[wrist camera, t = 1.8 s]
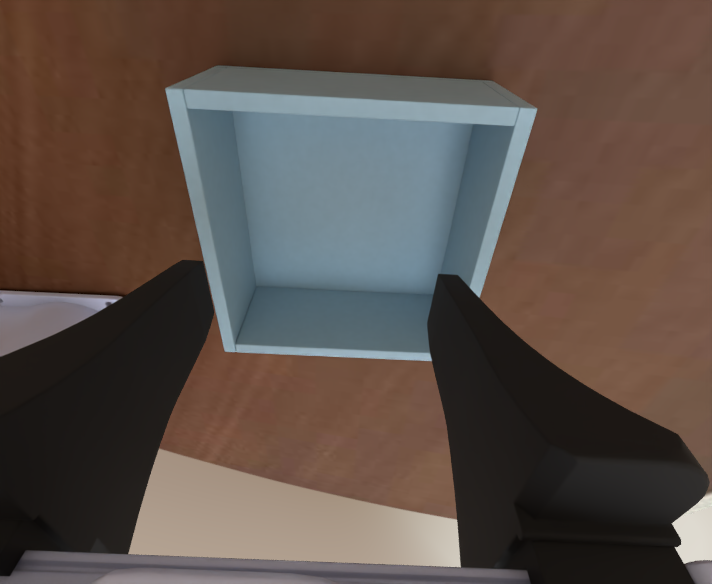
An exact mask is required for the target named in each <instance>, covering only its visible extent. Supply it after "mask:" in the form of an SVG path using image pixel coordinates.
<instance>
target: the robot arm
mask: <svg viewBox="0 0 712 584" xmlns="http://www.w3.org/2000/svg"><path fill="white" fill-rule="evenodd" d="M110 302H111V303H112V304H111V303H110ZM213 315H214V309H213V304H212V300H211V295H210V291H209V286H208V282H207V277H206V273H205V268H204V264H203V261H193V260H182V261H180V262H178V263H176V264H175V265H173V266H171V267H170V268H168V269H167V270H165V271H164V272H162V273H160V274H159V275H157V276H156V277H154V278H153V279H151V280H150V281H148V282H147V283H145V284H143V285H142V286H140V287H139V288H137V289H136V290H134V291H133V292H131V293H129V294H128V295H126V296H124V297H121V296H109V295H88V294H67V293H45V292H24V291H3V290H0V584H712V561H710V560H709V561H708V560H703V561H694V562H689V563H686V564H684V563H683V562H682V560H681V558H680V556H679V555H678V553H677V551H676V549H675V547H678V546H679V545H681V539H680V537H679V536H678V534H677V532H676V530H675V529H674V527H673V525H672V524H671V523H673V522H674V521H675V520H676V519H678V518H679V517H680V516H682V515H683V514H684V513H685V512H687V511H688V510H689V509H690V508H692V507H693V506H694V505H696V504H697V503H698V502H699V501H700V500H701V499H702V498H703V497H704V496H705V494H706V491H707V489H708V486H709V479H708V475H707V474H706V472H705V471H704V469H703V468H702V467H701V465H700V464H699V463H698V461H697V460H696V458H695V457H694V456H693V454H692V453H691V452H690V450H689V449H688V447H687V446H686V445H685V443H684V442H683V440H682V439H681V438H680V437H679V435H678V434H676V433H674V432H672V431H670V430H668V429H666V428H664V427H662V426H660V425H658V424H656V423H654V422H652V421H650V420H648V419H646V418H644V417H642V416H640V415H638V414H636V413H633V412H631V411H629V410H628V409H626V408H624V407H622V406H620V405H619V404H617V403H615V402H613V401H611V400H610V399H608V398H606V397H604V396H602V395H601V394H599V393H597V392H596V391H594V390H592V389H591V388H589V387H587V386H586V385H584V384H582V383H581V382H579V381H578V380H576V379H575V378H573V377H572V376H570V375H569V374H567V373H566V372H564V371H563V370H561V369H560V368H558V367H557V366H556V365H554V364H553V363H551V362H550V361H549V360H547V359H546V358H545V357H543V356H542V355H541V354H539V353H538V352H537V351H536V350H534V349H533V348H532V347H530V346H529V345H528V344H527V343H526V342H524V341H523V340H522V339H521V338H520V337H519V336H517V335H516V334H515V333H514V332H513V331H512V330H511V329H510V328H509V327H508V326H506V325H505V324H504V323H503V322H502V321H501V320H500V319H499V318H498V317H497V316H496V315H495V314H494V313H493V312H492V311H491V310H490V309H489V308H488V307H487V306H486V305H485V304H484V303H483V302H482V300H481V299H480V298H479V297H478V296H477V295H476V294H475V293H474V292H473V291H472V290H471V288H470V287H469V286H468V285H467V284H466V283H465V282H464V281H463V280H462V279H461V278H460V277H459V276H458V275H452V274H438V276H437V281H436V285H435V290H434V294H433V299H432V303H431V308H430V312H429V317H428V321H427V329H428V340H429V349H430V355H431V359H432V364H433V368H434V372H435V376H436V380H437V385H438V389H439V393H440V397H441V401H442V405H443V410H444V414H445V419H446V424H447V431H448V439H449V446H450V454H451V463H452V472H453V480H454V490H455V500H456V511H457V522H458V533H459V547H460V561H461V568H460V567H436V566H435V567H434V566H409V565H385V564H359V563H334V562H310V561H285V560H259V559H234V558H208V557H183V556H182V557H181V556H158V555H131V554H128V552H129V549H130V545H131V541H132V537H133V533H134V530H135V526H136V522H137V518H138V514H139V511H140V507H141V504H142V501H143V497H144V494H145V490H146V487H147V484H148V480H149V477H150V474H151V470H152V467H153V464H154V461H155V458H156V455H157V452H158V449H159V446H160V443H161V440H162V438H163V435H164V432H165V429H166V426H167V423H168V421H169V418H170V415H171V413H172V410H173V408H174V406H175V403H176V401H177V399H178V397H179V395H180V393H181V391H182V389H183V387H184V384H185V382H186V380H187V378H188V376H189V374H190V372H191V370H192V368H193V366H194V364H195V362H196V360H197V358H198V356H199V354H200V351H201V349H202V347H203V345H204V343H205V341H206V338H207V335H208V332H209V329H210V326H211V322H212V319H213Z"/></svg>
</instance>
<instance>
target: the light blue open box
mask: <svg viewBox="0 0 712 584" xmlns="http://www.w3.org/2000/svg"><path fill="white" fill-rule="evenodd" d="M165 90H166V95H167V99H168V104H169V108H170V113H171V117H172V121H173V126H174V130H175V135H176V139H177V143H178V148H179V152H180V157H181V161H182V165H183V170H184V174H185V179H186V183H187V187H188V192H189V196H190V201H191V205H192V209H193V214H194V218H195V223H196V227H197V231H198V236H199V240H200V245H201V249H202V253H203V258H204V262H205V267H206V271H207V275H208V280H209V284H210V289H211V293H212V297H213V302H214V306H215V311H216V315H217V319H218V324H219V328H220V333H221V337H222V341H223V346H224V350H225V352H243V353H265V354H287V355H310V356H332V357H354V358H376V359H398V360H420V361H432V359H431V355H430V349H429V340H428V329H427V321H428V317H429V312H430V308H431V303H432V299H433V294H434V290H435V285H436V281H437V276H438V274H452V275H458V276H459V277H460V278H461V279H462V280H463V281H464V282H465V283H466V284H467V285H468V286H469V287H470V288H471V290H472V291H473V292H474V293H475V294H476V295H477V296H478V297H479V298H480V295H481V291H482V288H483V285H484V282H485V278H486V275H487V272H488V268H489V265H490V262H491V259H492V255H493V252H494V249H495V246H496V242H497V239H498V236H499V233H500V229H501V226H502V223H503V220H504V216H505V213H506V210H507V207H508V203H509V200H510V197H511V193H512V190H513V187H514V184H515V180H516V177H517V174H518V171H519V167H520V164H521V161H522V158H523V154H524V151H525V148H526V145H527V141H528V138H529V135H530V131H531V128H532V125H533V122H534V118H535V115H536V112H537V108H535V107H534V106H532V105H531V104H529V103H527V102H526V101H524V100H523V99H521V98H519V97H518V96H516V95H515V94H513V93H511V92H510V91H508V90H507V89H505V88H503V87H502V86H500V85H499V84H497V83H495V82H494V81H487V80H469V79H452V78H434V77H416V76H398V75H380V74H362V73H345V72H327V71H309V70H291V69H273V68H255V67H237V66H220V65H217V66H215V67H213V68H210V69H208V70H206V71H204V72H201V73H199V74H197V75H194V76H192V77H190V78H188V79H185V80H183V81H181V82H179V83H176V84H174V85H172V86H169V87H167V88H166V89H165Z"/></svg>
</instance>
